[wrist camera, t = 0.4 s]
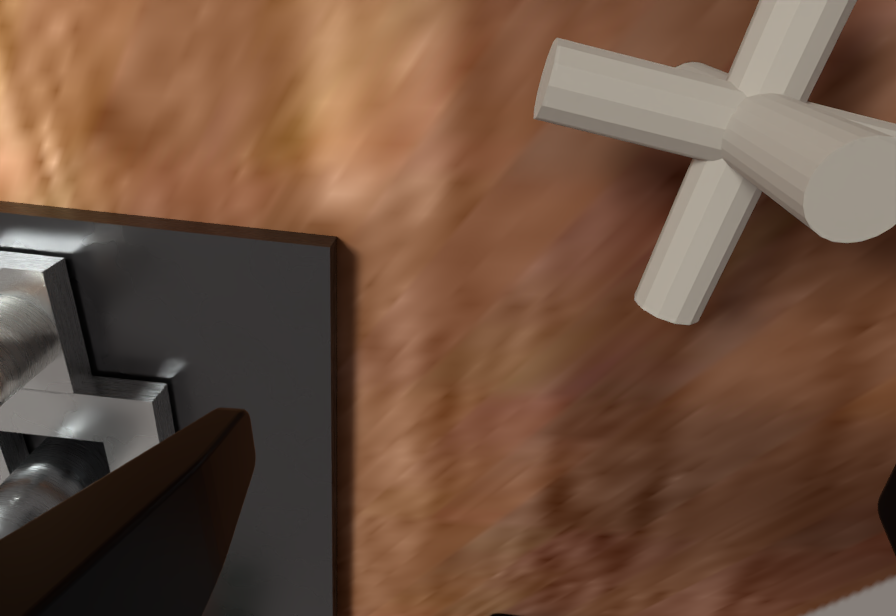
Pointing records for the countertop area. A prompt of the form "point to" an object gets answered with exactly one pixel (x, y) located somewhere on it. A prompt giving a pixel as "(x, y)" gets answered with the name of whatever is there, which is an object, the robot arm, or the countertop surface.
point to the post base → (207, 378)
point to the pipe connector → (734, 142)
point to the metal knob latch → (63, 373)
